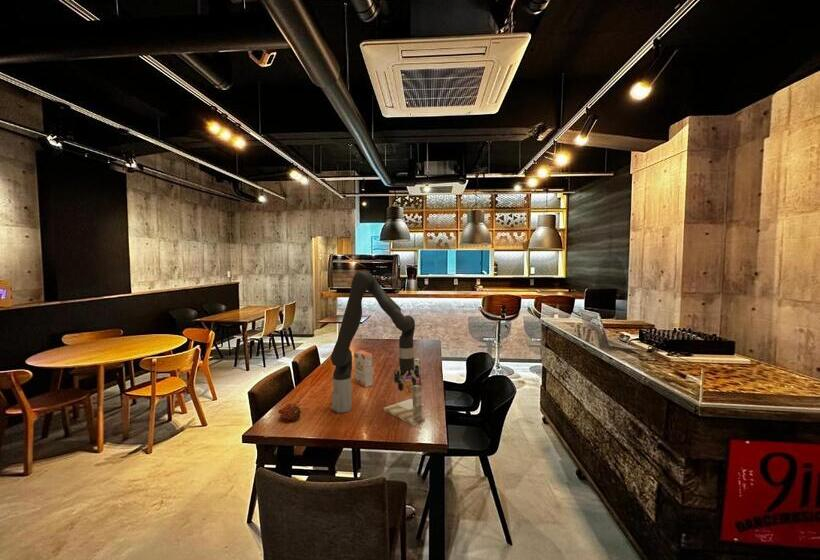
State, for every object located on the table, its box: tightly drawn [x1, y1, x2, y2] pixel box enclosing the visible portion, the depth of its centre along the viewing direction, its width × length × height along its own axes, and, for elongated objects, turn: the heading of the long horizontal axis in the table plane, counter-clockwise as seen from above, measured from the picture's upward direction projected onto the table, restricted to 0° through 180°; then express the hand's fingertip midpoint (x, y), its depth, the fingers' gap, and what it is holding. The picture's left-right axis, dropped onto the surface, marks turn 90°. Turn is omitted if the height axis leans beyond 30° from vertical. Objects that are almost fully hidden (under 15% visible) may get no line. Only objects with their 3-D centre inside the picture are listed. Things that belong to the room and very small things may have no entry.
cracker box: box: [353, 349, 374, 388], centre depth 222 cm, size 14×6×21 cm, turn 37°
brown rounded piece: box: [277, 403, 302, 422], centre depth 172 cm, size 8×8×12 cm
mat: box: [395, 398, 425, 412], centre depth 188 cm, size 11×11×1 cm
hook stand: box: [383, 381, 426, 427], centre depth 174 cm, size 24×7×18 cm, turn 41°
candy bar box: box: [402, 358, 422, 386], centre depth 220 cm, size 11×5×16 cm, turn 101°
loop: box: [400, 381, 413, 398], centre depth 172 cm, size 6×2×6 cm, turn 131°
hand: (407, 388), depth 172 cm, fingers open, 8 cm apart
